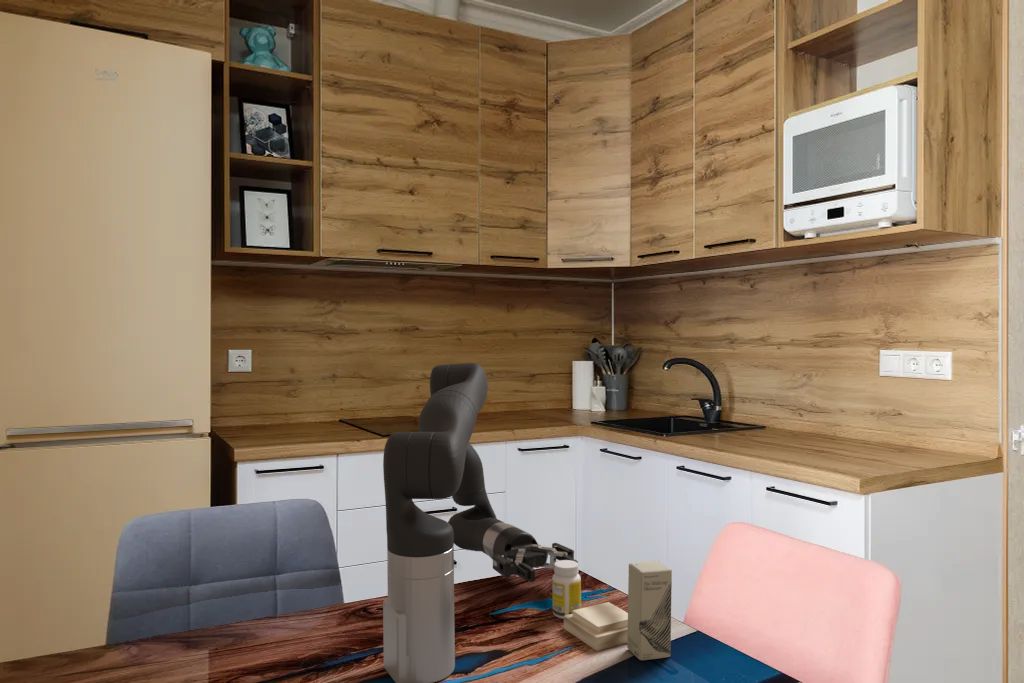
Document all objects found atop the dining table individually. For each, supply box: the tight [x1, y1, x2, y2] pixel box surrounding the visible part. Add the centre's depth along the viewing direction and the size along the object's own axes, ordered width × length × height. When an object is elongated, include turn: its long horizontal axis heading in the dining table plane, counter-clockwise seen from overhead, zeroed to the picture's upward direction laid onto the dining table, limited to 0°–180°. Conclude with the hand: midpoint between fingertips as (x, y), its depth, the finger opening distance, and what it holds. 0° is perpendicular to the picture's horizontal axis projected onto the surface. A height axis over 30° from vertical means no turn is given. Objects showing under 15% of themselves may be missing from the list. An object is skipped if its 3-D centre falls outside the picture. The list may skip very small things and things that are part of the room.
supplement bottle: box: [551, 560, 582, 620], centre depth 118 cm, size 5×5×8 cm
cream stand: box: [563, 601, 628, 652], centre depth 110 cm, size 9×9×3 cm
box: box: [626, 560, 673, 661], centre depth 104 cm, size 5×4×13 cm
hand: (555, 571), depth 121 cm, fingers open, 8 cm apart
